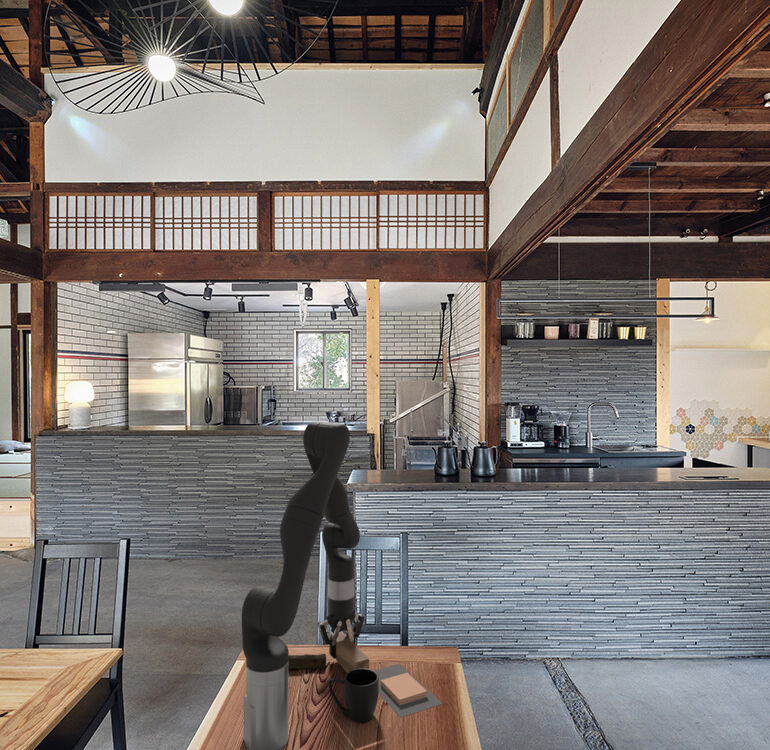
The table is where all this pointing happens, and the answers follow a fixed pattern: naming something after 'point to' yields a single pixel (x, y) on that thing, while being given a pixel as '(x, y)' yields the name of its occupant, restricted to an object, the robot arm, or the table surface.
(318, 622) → the robot arm
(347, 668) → the tan wooden bar
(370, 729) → the table surface
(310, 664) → the hand tool
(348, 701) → the mug
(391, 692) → the tile
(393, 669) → the rubber mat
